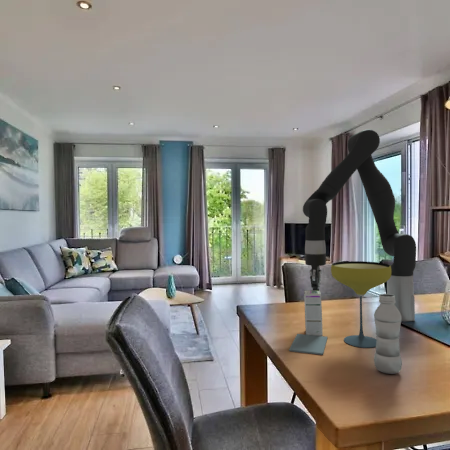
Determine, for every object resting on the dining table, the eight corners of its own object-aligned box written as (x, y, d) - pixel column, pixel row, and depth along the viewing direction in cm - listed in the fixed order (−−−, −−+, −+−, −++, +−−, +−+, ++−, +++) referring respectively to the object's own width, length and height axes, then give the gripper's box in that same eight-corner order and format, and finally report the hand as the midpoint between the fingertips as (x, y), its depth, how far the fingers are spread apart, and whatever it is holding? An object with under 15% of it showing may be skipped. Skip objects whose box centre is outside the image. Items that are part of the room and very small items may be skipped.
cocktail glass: (370, 330, 123) (369, 260, 123) (405, 349, 105) (404, 267, 105) (322, 334, 120) (321, 262, 120) (350, 355, 102) (348, 270, 102)
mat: (327, 338, 117) (327, 336, 117) (323, 355, 103) (322, 353, 103) (297, 335, 120) (297, 333, 120) (289, 351, 106) (289, 349, 106)
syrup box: (322, 336, 119) (322, 293, 119) (305, 335, 120) (304, 293, 120) (321, 330, 125) (321, 290, 124) (304, 330, 126) (304, 290, 125)
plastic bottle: (369, 367, 94) (368, 293, 94) (393, 365, 95) (392, 292, 94) (382, 378, 88) (381, 298, 87) (407, 376, 88) (406, 297, 88)
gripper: (323, 254, 123) (324, 303, 124) (327, 250, 136) (328, 294, 136) (302, 254, 126) (303, 301, 127) (307, 250, 139) (308, 293, 139)
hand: (316, 298), depth 131 cm, fingers closed
